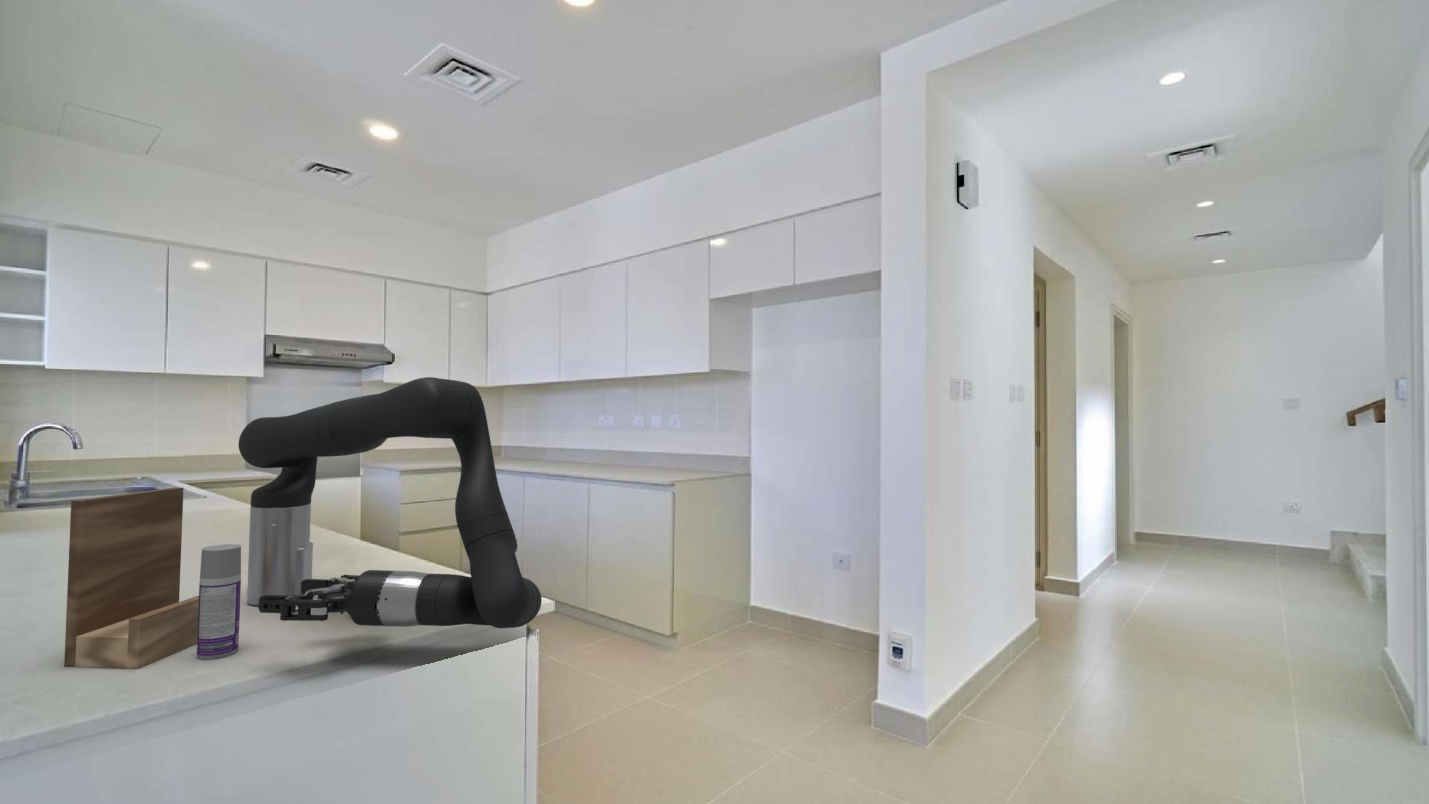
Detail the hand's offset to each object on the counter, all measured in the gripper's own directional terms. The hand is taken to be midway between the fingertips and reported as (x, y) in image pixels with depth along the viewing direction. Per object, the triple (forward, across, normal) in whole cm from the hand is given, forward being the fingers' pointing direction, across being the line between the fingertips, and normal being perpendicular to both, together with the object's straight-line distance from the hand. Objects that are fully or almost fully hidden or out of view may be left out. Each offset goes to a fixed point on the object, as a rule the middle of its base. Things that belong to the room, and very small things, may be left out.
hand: (282, 594), depth 91 cm
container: (+9, 0, +9) cm, 12 cm away
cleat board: (+20, -2, +9) cm, 22 cm away
